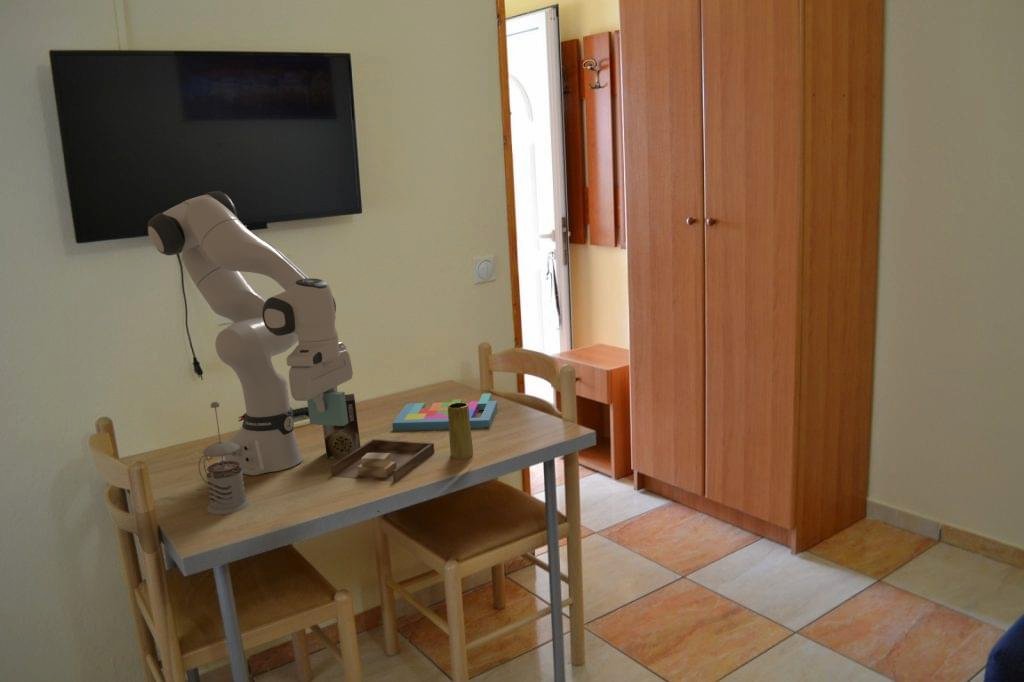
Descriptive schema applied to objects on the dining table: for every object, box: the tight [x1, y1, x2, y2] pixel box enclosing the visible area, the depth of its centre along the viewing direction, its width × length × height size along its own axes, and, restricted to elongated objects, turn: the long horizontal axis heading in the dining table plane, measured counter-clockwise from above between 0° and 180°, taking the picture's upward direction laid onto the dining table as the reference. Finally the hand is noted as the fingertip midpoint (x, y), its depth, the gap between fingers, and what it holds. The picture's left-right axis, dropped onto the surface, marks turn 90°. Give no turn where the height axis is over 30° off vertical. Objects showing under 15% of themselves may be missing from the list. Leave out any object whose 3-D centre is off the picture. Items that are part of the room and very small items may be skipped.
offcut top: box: [361, 453, 391, 467], centre depth 212 cm, size 6×4×2 cm, turn 77°
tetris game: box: [391, 392, 498, 432], centre depth 260 cm, size 28×3×28 cm
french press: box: [197, 401, 252, 515], centre depth 198 cm, size 10×12×25 cm
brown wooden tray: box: [330, 438, 435, 483], centre depth 218 cm, size 18×21×4 cm
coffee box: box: [322, 393, 362, 460], centre depth 227 cm, size 9×6×16 cm
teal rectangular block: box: [306, 391, 348, 426], centre depth 199 cm, size 9×2×8 cm, turn 69°
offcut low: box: [357, 462, 397, 478], centre depth 212 cm, size 8×5×2 cm, turn 69°
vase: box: [448, 401, 474, 460], centre depth 220 cm, size 6×6×14 cm
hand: (326, 408), depth 199 cm, fingers closed on teal rectangular block, 2 cm apart
